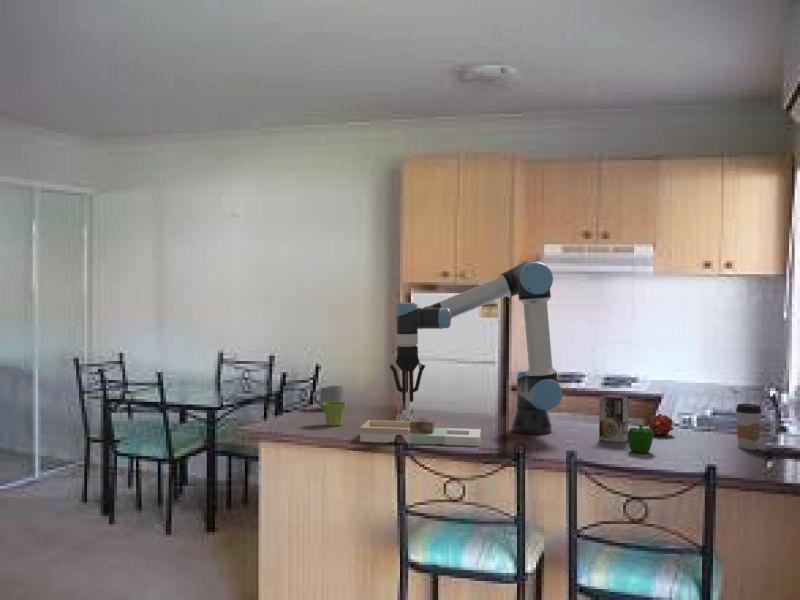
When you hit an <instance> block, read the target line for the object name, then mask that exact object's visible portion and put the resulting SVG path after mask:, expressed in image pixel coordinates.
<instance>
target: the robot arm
mask: <svg viewBox="0 0 800 600" xmlns="http://www.w3.org/2000/svg"><path fill="white" fill-rule="evenodd" d="M553 282H554V276H553V272H552V270H551V268H550V267H548V265H546V264H544V263H543V262H539V261H529V262H522V263H520V264H518V265H516V266H514V267H512V268H511V269H508V270H507V271H505V272H502V273H500V274H498V277H497V278H494V279H492V280H489V281H487V282H485V283H482V284H479V285H477V286H475V287H472V288H470V289H467V290H465V291H462V292H461V293H458V294H455V295H453V296H450V297H448V298H445V299H443V300H441V301H439V302H436V303H434V304H431V305H428V306H427V305H426V306H424V307H419V306H418V303H417V302H399V303H398V304H397V305H396V345H397V347H396V355H397V356H396V360H395V362H394V363H392V364H390V365H389V368H390V370H391V371H392V375H393V377H394V378H393V379H394V381H395V386H396V390H397V392H400V393H402V402H403V403H405V411H412V410H411V403H413V402H414V393H415V392H418V390H419V388H420V383H421V379H422V376H423V375H422V374H423V371H424V369H425V368H426V364H424V363H422V362H420V359H419V347H418V344H419V339H418V338H419V334H418V333H419V332H418V330H421V329H423V330H424V329H425V330H426V329H428V330H429V329H430V330H431V329H432V330H433V329H434V330H435V329H439V330H442V329H449V328H450V327H451V324H452V319H453V318H456V317H458V316H460V315H463V314H465V313H468V312H470V311H472V310H475V309H478V308H480V307H482V306H485V305H487V304H491V303H493V302H495V301H497V300H499V299H502V298H505V297H507V298H512V297H514V296H518V301H519V302H521V304H522V305H523V315H524V326H525V327H524V328H525V338H526V349H527V350H526V351H527V361H528V364H527V365H528V368H527V371H526V370H524V371H523V370H522V371H518V373H517V376H516V410H515V414H514V416H513V417H514V418H513V420H512V423H511V431H512V432H514V433H515V432H516V433H519V434H526V435H545V434H549V433H551V432H552V429H553V428H552V422H551V420H550V417H549V413H548V411H551V410H553V409H555V408H557V407H558V406H559V404H560V403H561V401H562V400H563V399H562V398H563V389H562V386H561V385H560V383H559V379H558V371H557V370H556V369H555V368H554V367H553V360H552V347H551V335H550V324H549V323H550V322H549V311H548V302H549V300H551V298H552V295H551V294H552V293H551V287H552V286H553ZM417 367H418V373H417V377H416V381H415V385H414V372H415V370H416V368H417ZM398 368H399V370H401V377H402V378H401V379H402V380H401V381H402V383H401V381H400V377H399V372H398V370H397V369H398ZM407 372H408V374H409V375H408V377H409V379H408V381H409V383H408V385H409V387H408V389H409V390H408V391H407ZM401 384H402V386H401Z"/></svg>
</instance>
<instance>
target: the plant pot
mask: <svg viewBox="0 0 800 600" xmlns="http://www.w3.org/2000/svg"><path fill="white" fill-rule="evenodd" d="M322 404H323V406H324V410H325V411H324V416H325V421H326V422H325V425H326V426H328V427H337V426H342V425H343V420H344V412H345V408H346V405H347V402H344V401H343V402H324V403H322Z"/></svg>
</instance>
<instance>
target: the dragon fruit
mask: <svg viewBox="0 0 800 600" xmlns="http://www.w3.org/2000/svg"><path fill="white" fill-rule="evenodd" d="M647 425H648V427H649V428H648V429H651V431H652V433H653V437H658V436H657V435H659V436H661V435H663V436H664V435H665V436H664V437H667V436H668V435H670V432H671V431H674V427H673V419H672V418H670V417H669V416H668V415H665V414H664V415H663V414H661V413H658V414H657V415H655V416H652V417H651V418H650V420H649V422H648V424H647Z"/></svg>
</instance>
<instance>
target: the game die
mask: <svg viewBox="0 0 800 600" xmlns="http://www.w3.org/2000/svg"><path fill="white" fill-rule="evenodd" d="M413 412H414V409H413V410H410V411H406V409H404V408H403V409H402V410H399V413H398V414H397V415H396V416H393V419H395V421H411V420H412V418H415V416H414V414H413Z"/></svg>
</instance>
